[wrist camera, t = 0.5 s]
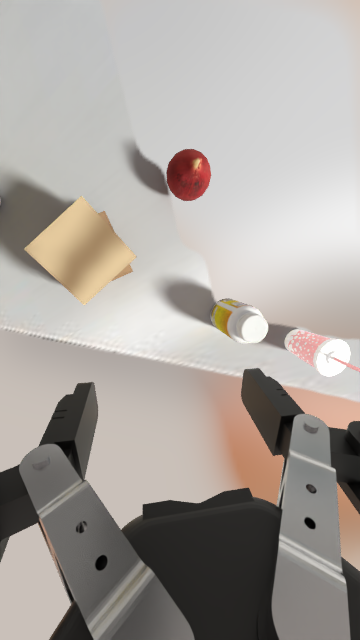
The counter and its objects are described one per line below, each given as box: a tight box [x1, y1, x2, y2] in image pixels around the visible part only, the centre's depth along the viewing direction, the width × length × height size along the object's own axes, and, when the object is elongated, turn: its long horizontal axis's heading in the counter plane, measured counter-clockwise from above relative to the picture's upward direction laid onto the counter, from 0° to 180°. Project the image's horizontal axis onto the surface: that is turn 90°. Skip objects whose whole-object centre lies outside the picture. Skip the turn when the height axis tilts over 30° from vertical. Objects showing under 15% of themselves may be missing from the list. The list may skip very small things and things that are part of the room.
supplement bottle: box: [211, 299, 268, 343], centre depth 37 cm, size 6×6×10 cm
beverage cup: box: [285, 329, 360, 376], centre depth 39 cm, size 6×6×14 cm
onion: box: [167, 149, 211, 201], centre depth 32 cm, size 6×6×8 cm
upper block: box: [24, 196, 136, 305], centre depth 28 cm, size 8×8×5 cm
